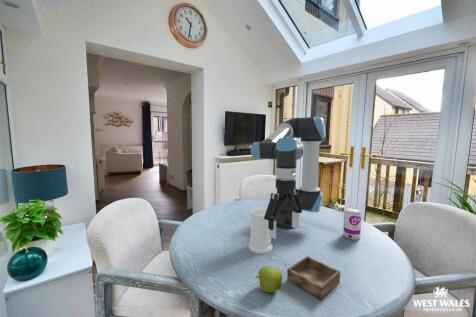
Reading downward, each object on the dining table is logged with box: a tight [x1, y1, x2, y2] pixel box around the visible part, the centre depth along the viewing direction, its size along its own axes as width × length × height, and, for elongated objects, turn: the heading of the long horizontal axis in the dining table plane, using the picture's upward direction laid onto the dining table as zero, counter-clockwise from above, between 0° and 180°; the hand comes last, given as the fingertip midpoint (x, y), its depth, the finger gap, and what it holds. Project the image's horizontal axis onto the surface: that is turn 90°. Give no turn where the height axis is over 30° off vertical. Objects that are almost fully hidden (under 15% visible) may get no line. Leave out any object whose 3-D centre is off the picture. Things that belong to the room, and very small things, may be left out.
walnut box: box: [286, 255, 341, 301], centre depth 81 cm, size 14×14×4 cm
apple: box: [255, 265, 283, 293], centre depth 77 cm, size 8×9×8 cm
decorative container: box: [248, 207, 273, 255], centre depth 105 cm, size 12×12×18 cm
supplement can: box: [342, 207, 363, 241], centre depth 117 cm, size 8×8×15 cm
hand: (284, 232), depth 85 cm, fingers open, 13 cm apart
